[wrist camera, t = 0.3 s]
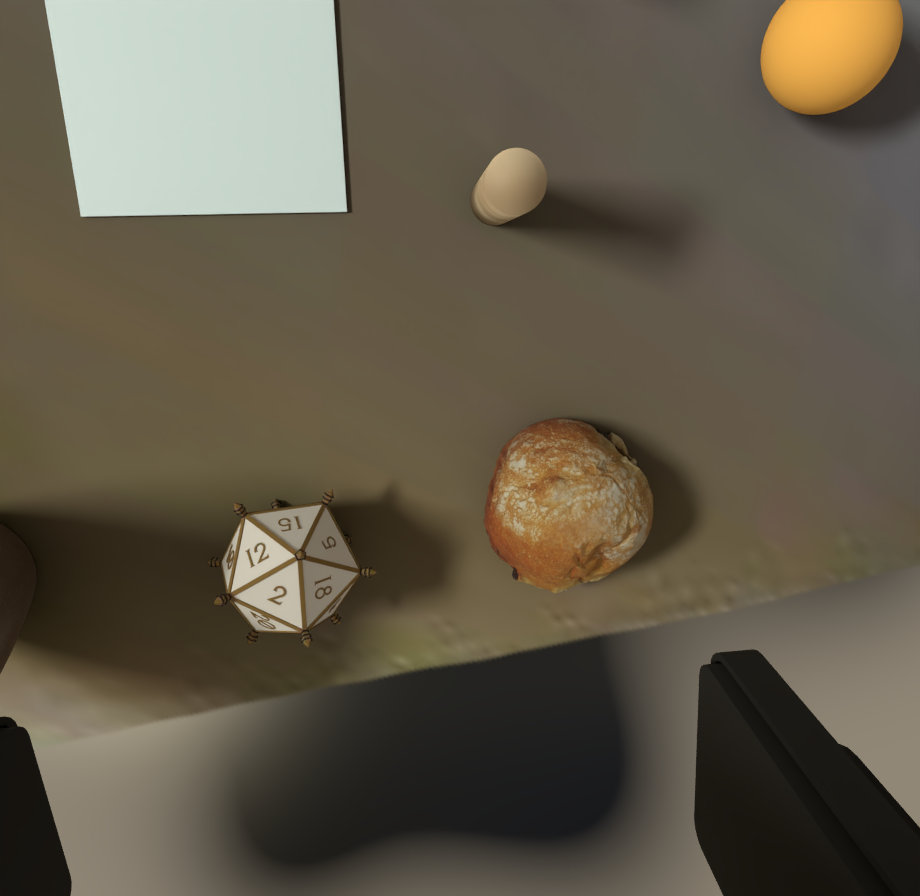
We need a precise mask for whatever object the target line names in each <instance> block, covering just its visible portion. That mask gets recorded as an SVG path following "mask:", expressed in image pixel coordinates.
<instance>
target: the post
mask: <svg viewBox="0 0 920 896" xmlns="http://www.w3.org/2000/svg"><path fill="white" fill-rule="evenodd" d="M546 187H547V174H546V170H545V167H544V165H543V163H542V162H541V160H540V159H539V158H538V157H537V156H536V155H535V154H534V153H532V152H530V151H529V150H526V149H522V148H511V149H507V150H504V151H502V152H501V153H499V154H498V155H497V156H496V157H495V158H494V159H493V160H492V161H491V163H490V164H489V166H488V167H487V168H486V170H485V171H484V173H483V174H482V176H481V177H480V179H479V180H478V182H477V183H476V185H475V187H474V188H473V190H472V193H471V208H472V211H473V213H474V214H475V216H476V217H477V218H478V219H479V220H480V221H481V222H483V223H485V224H487V225H491V226H496V225H501V224H504V223H506V222H508V221H510V220H512V219H514V218H517V217H519V216H521V215H523V214H525V213H527V212H529V211H531V210H533V209H534V208H535V207H536V206H537V205H538V204H539V203H540V202H541V200H542V199H543V197H544V194H545V192H546Z"/></svg>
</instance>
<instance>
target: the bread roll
mask: <svg viewBox="0 0 920 896" xmlns="http://www.w3.org/2000/svg"><path fill="white" fill-rule="evenodd" d="M636 463H637V461H636V460H635V458H631V457H629V455H628V451H627V448H626V446H625V444H624V442H623V440H622V439H621V438H620V437H619V436H617V435H615V434H614V433H612V432H611V433H610V434H609V435H608V436H607V435H606V434H605V433H603V432H602V431H600V430H598V429H594V427H593V426H592V425H589V424H586V423H583V422H582V421H580V420H571V419H566V418H552V419H547V420H544V421H541V422H538V423H535V424H533V425H531V426H529V427H527V428H525V429H523V430H522V431H520V432H519V433H518V434H517V435H516V436H514V437H513V438H512V439H511V440H509V441H508V442H507V444H506V445H505V446H504V447H503V449H502V451H501V453H500V456H499V458H498V460H497V461H496V467H495V469H494V476H493V478H492V480H491V482H490V485H489V491H488V498H487V502H486V506H485V519H484V523H485V527H486V532H487V534H489V536H490V539H489V540H490V544H491V547H492V548H493V550H494V551H495V553H496V554H497V555H498V556H499V558H500V559H502V560H503V561H505V562H506V563H508V564H509V565H510V566H511V567H512V568H513V569H514V570H513V573H512V576H513V578H514V579H515V580H516V581H519V582H524V583H527V584H530V585H533V586H536V587H538V588H540V589H542V588H544V589H547V590H551V591H552V592H553V593H561V592H563V591H567V590H569V589H571V588H574V587H575V586H576V585H579V584H581V582H582V583H587V582H588V581H591V582H593V581H598V580H601V579H603V578H605V577H606V576H608V575H609V574H610V573H612V572H613V571H615V570H616V569H618V568H619V567H621V566H622V565H623V564H625V563H626V562H628V561H629V560H630V559H631V558H632V557H633V556H634V555H635V554H636V553H637V552H638V550H639V549H640V548H641V547H642V545H643V544H644V543H645V541H646V539H647V537H648V534H649V532H650V529H651V527H652V519H653V495H652V492H651V490H650V488H649V485H648V481H647V479H646V476H645V475H644V474H643V472H642V471H641V470H640V468H638V467H637V465H636Z"/></svg>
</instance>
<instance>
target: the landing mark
mask: <svg viewBox="0 0 920 896" xmlns="http://www.w3.org/2000/svg"><path fill="white" fill-rule="evenodd" d="M45 5H46V11H47V17H48V23H49V29H50V35H51V41H52V47H53V52H54V58H55V64H56V70H57V76H58V82H59V88H60V94H61V100H62V106H63V112H64V118H65V124H66V130H67V136H68V142H69V148H70V154H71V160H72V166H73V172H74V178H75V183H76V189H77V195H78V201H79V207H80V213H81V217H97V216H152V215H207V214H262V213H317V212H347V200H346V185H345V169H344V153H343V137H342V122H341V106H340V90H339V74H338V59H337V43H336V27H335V11H334V0H45Z"/></svg>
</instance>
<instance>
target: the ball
mask: <svg viewBox="0 0 920 896" xmlns="http://www.w3.org/2000/svg"><path fill="white" fill-rule="evenodd" d="M902 30H903V16H902V10H901V6H900V3H899V1H898V0H786V1H785V2H784V3H783V4H782V5H781V7H780V8H779V9H778V11H777V12H776V14H775V15H774V17H773V19H772V21H771V22H770V24H769V27H768V29H767V31H766V34H765V37H764V40H763V44H762V50H761V71H762V76H763V79H764V82H765V85H766V87H767V89H768V91H769V92H770V94H771V95H772V96H773V97H774V99H775V100H776V101H777V102H778V103H780V104H781V105H782V106H784V107H785V108H787V109H789V110H792V111H794V112H797V113H801V114H808V115H820V114H827V113H831V112H835V111H838V110H841V109H843V108H846V107H848V106H850V105H851V104H853V103H855V102H857V101H858V100H860V99H861V98H862V97H864V96H865V95H866V94H868V93H869V92H870V91H871V90H872V89H873V88H874V87H875V86H876V85H877V84H878V83H879V82H880V81H881V79H882V78H883V77H884V76H885V74H886V73H887V71H888V70H889V68H890V66H891V65H892V63H893V61H894V59H895V57H896V54H897V52H898V49H899V46H900V42H901V37H902Z"/></svg>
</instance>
